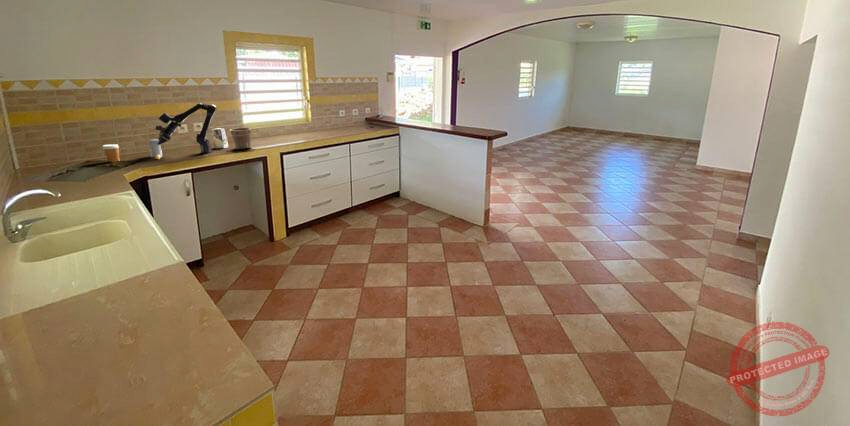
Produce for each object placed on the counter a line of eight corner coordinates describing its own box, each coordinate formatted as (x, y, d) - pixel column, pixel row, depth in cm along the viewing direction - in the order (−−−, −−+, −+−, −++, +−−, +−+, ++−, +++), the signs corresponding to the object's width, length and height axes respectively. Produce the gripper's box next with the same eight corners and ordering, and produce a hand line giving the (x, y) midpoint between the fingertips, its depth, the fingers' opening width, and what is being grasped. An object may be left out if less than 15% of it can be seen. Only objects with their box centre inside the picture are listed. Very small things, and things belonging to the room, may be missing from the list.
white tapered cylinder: (164, 155, 313) (160, 139, 309) (158, 157, 307) (154, 140, 303) (155, 155, 314) (152, 139, 310) (149, 157, 307) (145, 140, 303)
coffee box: (228, 147, 348) (225, 128, 342) (224, 148, 342) (220, 129, 336) (219, 146, 349) (215, 128, 344) (214, 148, 343) (211, 129, 338)
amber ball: (161, 158, 302) (160, 154, 301) (159, 159, 299) (158, 155, 298) (157, 158, 302) (156, 154, 301) (154, 159, 299) (153, 155, 298)
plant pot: (244, 150, 333) (241, 130, 327) (228, 149, 337) (225, 129, 332) (257, 147, 347) (254, 128, 342) (242, 146, 352) (239, 127, 347)
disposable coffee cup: (125, 160, 295) (121, 144, 291) (112, 163, 287) (107, 146, 283) (116, 159, 298) (112, 143, 294) (103, 162, 289) (98, 145, 286)
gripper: (160, 120, 313) (146, 135, 310) (162, 122, 299) (147, 138, 296) (173, 129, 320) (160, 144, 317) (176, 132, 306) (162, 148, 303)
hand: (157, 143), depth 308 cm, fingers open, 9 cm apart
